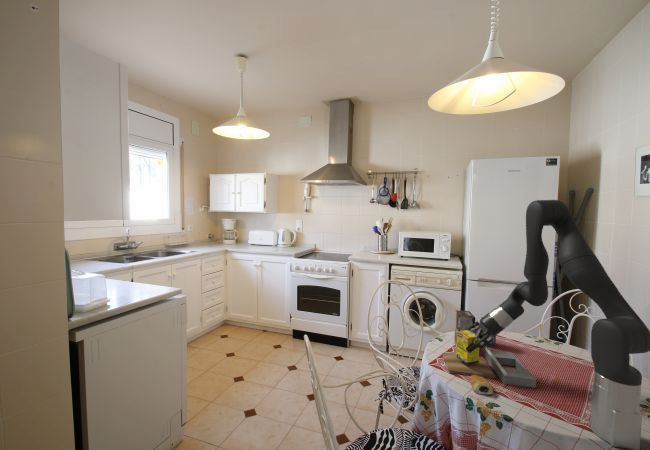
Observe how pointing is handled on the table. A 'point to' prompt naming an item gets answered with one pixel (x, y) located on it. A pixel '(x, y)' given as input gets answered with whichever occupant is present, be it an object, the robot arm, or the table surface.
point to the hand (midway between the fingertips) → (464, 345)
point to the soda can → (491, 341)
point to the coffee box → (463, 322)
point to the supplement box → (462, 342)
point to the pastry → (480, 385)
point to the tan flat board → (467, 366)
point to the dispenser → (509, 375)
